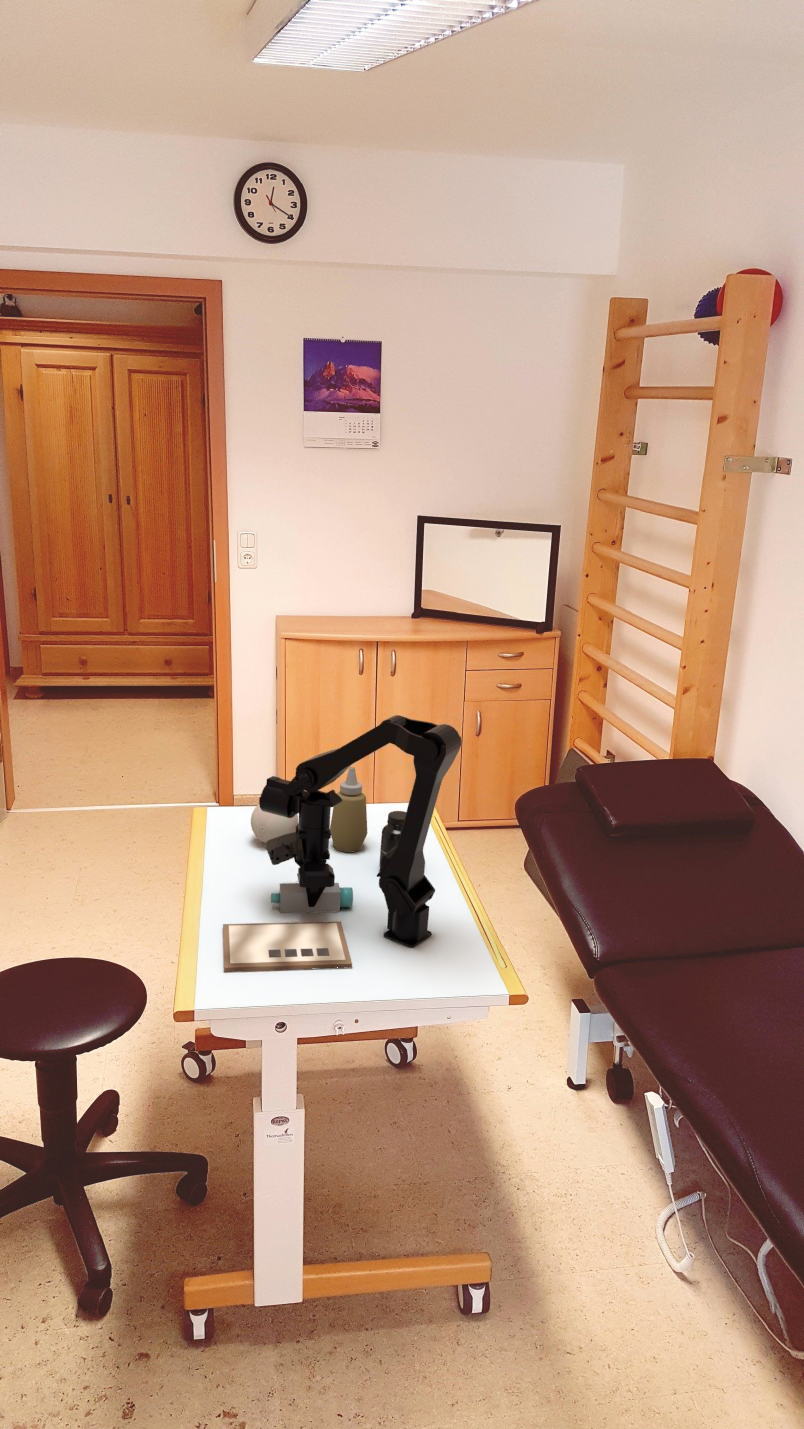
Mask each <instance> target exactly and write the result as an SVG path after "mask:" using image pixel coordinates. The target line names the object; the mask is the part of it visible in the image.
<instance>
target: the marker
mask: <svg viewBox="0 0 804 1429" xmlns="http://www.w3.org/2000/svg"><path fill="white" fill-rule="evenodd" d="M270 904H278V906H279V914H284V913H285V914H289V913H290V914H291V913H292V914H293V913H294V914H295V913H299V914H300V913H301V914H302V913H303V914H304V913H339V912H340V911H341V910H340V909H341V908H351V907H353V905H354V891H353V887H347V886H346V887H345V886H344V887H340V884H339V882H334V886H332V887H325V889H324V891H323V893H322V894H321V896H320V898H319V900H318V901H317V903H316V905H315V907H309V905H308V899H307V893H306V887H301V886H299V882H297V883H296V882H295V883H293V882H292V883H290V882H289V883H288V882H287V883H284V882H283V883H279V891H278V892H274V893H273V892H271V894H270Z"/></svg>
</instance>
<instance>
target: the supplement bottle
mask: <svg viewBox="0 0 804 1429" xmlns="http://www.w3.org/2000/svg"><path fill="white" fill-rule="evenodd" d="M406 812H407V811H403V810H394V811H390V812H389V813H388V814H387V822H386V823H387V824H385V825H384V826H383V828H382V829H381V837H380V849H379V850H380V851H379V862H378V863H379V866H378V867H379V869H380V868H381V860H382V857H383V856H384V855H385V854H386V853H388V852H389V851H390V850H392V849H393V848H394V847H396V846H397V845H398V842H399V838H400V834H401V830H402V827H403V823H404V819H405V815H406Z"/></svg>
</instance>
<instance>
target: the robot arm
mask: <svg viewBox="0 0 804 1429" xmlns="http://www.w3.org/2000/svg"><path fill="white" fill-rule="evenodd" d="M388 744H392V745H393V746H395V747H397V749H400V750H401V751H402V752H403V753H405V754H407V755H410V756H413V767H414V768H413V769H414V771H415V778H414V783H413V786H412V790H411V794H410V797H409V802H408V804H407V809H406V811H405V812H406V815H405V819H404V823H403V827H402V830H401V834H400V838H399V842H398V845H397V846H396V847H394V848H393V849H392V850H390V851H389V852H388V853H386V854H385V855H384V856H383V857H382V860H381V868H380V867H379V871H378V873H377V874H376V878H378V877H379V879H378V888H379V889H380V890H381V892H382V894H383V897H384V900H385V904H386V907H387V923H386V925H387V926H386V929H387V930H386V931H385V932H383V937H384V938H387V939H389V940H392V941H395V942H397V943H399V944H402V945H405V946H407V947H408V948H414V947H416V946H417V945H419V944H421V943H423V941H425V940H427V939H428V938H430V937H431V936H432V935H433V932H432V931H430V930H429V929H428V926H429V916H430V906H429V905H427V904H426V903H427V902H429V901H430V900H431V899H433V896H434V894H436V893H435V892H436V888H435V887H434V886H433V884H432V883H431V882H430V880H429V879H428V877H427V876H426V875H425V869H426V867H425V866H426V860H425V854H424V847H425V843H426V839H427V836H428V831H429V829H430V824H431V822H432V818H433V814H434V811H435V807H436V803H437V800H438V797H439V793H440V789H441V786H442V781H443V780H444V778H445V776H446V774H447V773H448V771H449V770H450V768H451V767H452V765H453V764H454V762H455V760H456V758H457V755H458V754H459V752H460V750H461V746H462V737H461V735H460V734H459V732H458V730H456V728H454V727H453V726H452V725H450V724H445V723H443V724H436V723H433V722H430V721H424V720H418V719H411V718H409V717H405V716H404V715H397V714H396V715H392V716H391V717H388V718H386V719H384V720H382V721H381V722H380V723H379V725H377V726H374V727H373V728H372V729H370V730H368V731H366V732H365V733H363V734H361V735H359V736H358V737H356V738H354V739H353V740H351V741H349V742H348V743H346V744H344V745H343V746H341V747H338V748H335V749H331V750H328V751H326V752H323V753H319V754H317V755H314V756H313V757H311V758H309V759H307V760H305V761H302V762H301V763H299V764H298V765H296V767H295V776H294V777H293V778H292V779H291V780H289V779H288V780H287V779H285V778H284V779H283V778H280V776H279V777H278V776H274V775H272V776H270V777H268V778H266V784H265V786H263V789H262V791H261V794H260V796H259V800H258V804H259V805H260V808H261V810H262V811H264V812H268V813H272V814H276V815H279V816H283V817H287V818H292V817H294V816H295V815H296V814H297V815H298V823H297V826H296V827H295V832H293V833H290V834H285V835H282V836H279V837H276V838H273V839H270V840H268V841H267V842H266V843H265V846H266V852H267V854H268V857H269V860H270V862H271V865H273V866H277V865H279V864H282V863H283V862H284V863H285V862H287V861H290V860H291V859H293V860H294V863H295V864H296V865H297V867H298V866H299V867H298V869H297V873H296V874H297V881H298V883H299V886H301V887H306V893H307V899H308V905H309V907H315V905H316V903H317V901H318V900H319V898H320V896H321V894H322V893H323V891H324V889H325V887H332V886H334V883H336V882H335V879H336V876H335V873H334V869H333V867H332V866H331V865H330V863H327V860H330V858H331V856H330V855H331V854H330V850H329V849H330V848H329V846H330V839H331V840H332V837H331V832H330V825H331V809H332V808H333V807H334V806H335V805H337V804H339V803H340V802H342V798H341V797H340V796H339V795H337V793H336V791H335V790H334V789H331V790H329V791H327V792H325V791H322V790H321V789H323V788H325V787H327V786H329V785H331V784H333V783H334V782H336V780H338V778H340V777H341V776H342V775H343V774H344V773H345V772H346V771H347V770H349V768H350V767H352V765H354V764H355V763H358V762H359V761H361V760H362V759H364V758H366V757H368V756H369V755H371V754H373V753H375V752H377V751H378V750H380V749H382V748H383V747H385V746H387V745H388Z"/></svg>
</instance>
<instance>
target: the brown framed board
mask: <svg viewBox="0 0 804 1429" xmlns="http://www.w3.org/2000/svg"><path fill="white" fill-rule="evenodd" d="M346 938H347V937H346V935H345V931H344V927H343V923H342V921H341V920H340V921H337V920H336V921H334V920H333V921H301V922H298V921H297V922H295V921H294V922H292V921H291V922H261V923H256V922H255V923H251V922H250V923H223V924H222V941H223V942H222V945H223V946H222V947H223V951H222V952H223V972H224V973H233V972H232V971H243V972H266V971H269V972H271V971H270V970H274V971H290V970H289V969H294V970H293V971H296V970H295V969H304V970H313V969H312V968H335V969H345V968H344V967H348V968H347V969H352V968H353V962H352V958H351V954H350V950H349V947H348V943H347V939H346ZM337 967H338V968H337ZM349 967H351V968H349ZM283 969H284V970H283Z"/></svg>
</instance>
